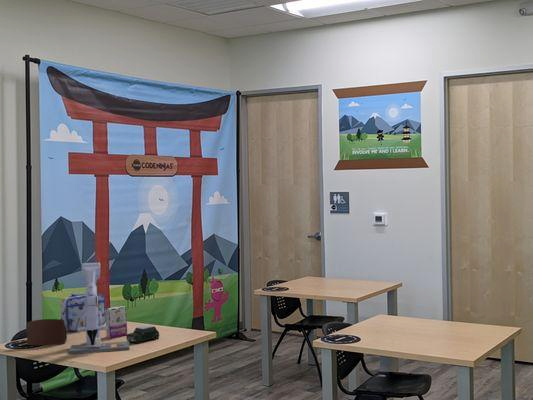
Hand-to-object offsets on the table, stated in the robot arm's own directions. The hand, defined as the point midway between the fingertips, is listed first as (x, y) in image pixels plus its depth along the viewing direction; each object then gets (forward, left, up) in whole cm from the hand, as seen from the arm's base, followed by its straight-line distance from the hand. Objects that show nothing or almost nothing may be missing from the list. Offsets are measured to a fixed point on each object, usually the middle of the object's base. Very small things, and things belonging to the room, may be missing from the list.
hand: (92, 344), depth 369 cm
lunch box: (-61, -8, -3) cm, 62 cm away
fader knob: (0, +3, -1) cm, 3 cm away
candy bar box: (-33, +12, -3) cm, 35 cm away
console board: (-2, +4, -3) cm, 5 cm away
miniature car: (-16, +26, -3) cm, 31 cm away
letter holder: (-27, -26, -3) cm, 37 cm away
